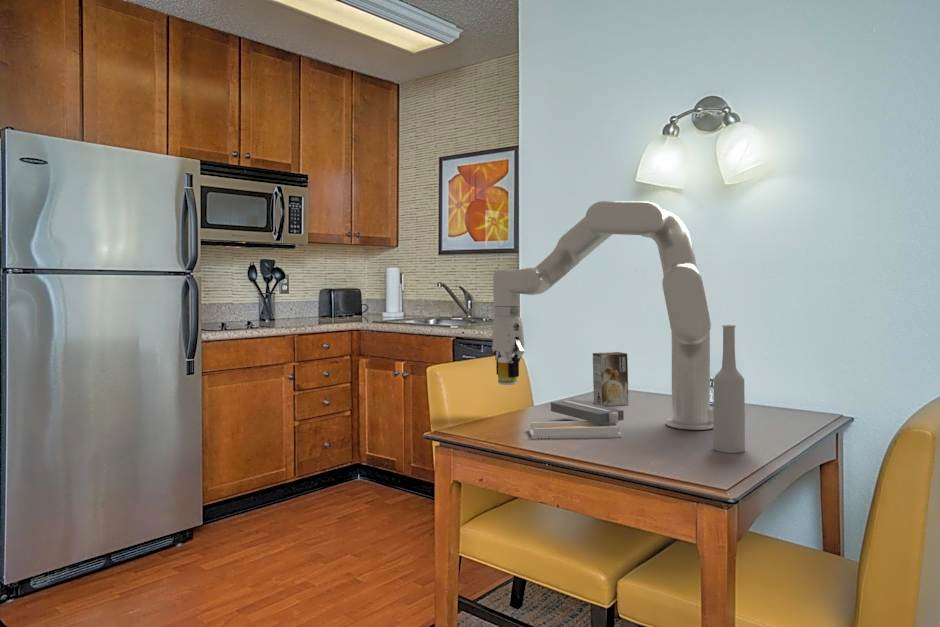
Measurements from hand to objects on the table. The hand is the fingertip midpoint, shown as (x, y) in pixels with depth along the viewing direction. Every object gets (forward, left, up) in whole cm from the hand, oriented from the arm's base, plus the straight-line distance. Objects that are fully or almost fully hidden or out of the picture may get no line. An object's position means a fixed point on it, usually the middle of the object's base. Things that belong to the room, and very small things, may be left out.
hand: (507, 375), depth 187 cm
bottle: (-47, +41, -12) cm, 64 cm away
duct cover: (-20, +15, -9) cm, 27 cm away
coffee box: (-33, -16, -12) cm, 39 cm away
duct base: (-15, +23, -12) cm, 30 cm away
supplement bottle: (0, 0, -3) cm, 3 cm away
